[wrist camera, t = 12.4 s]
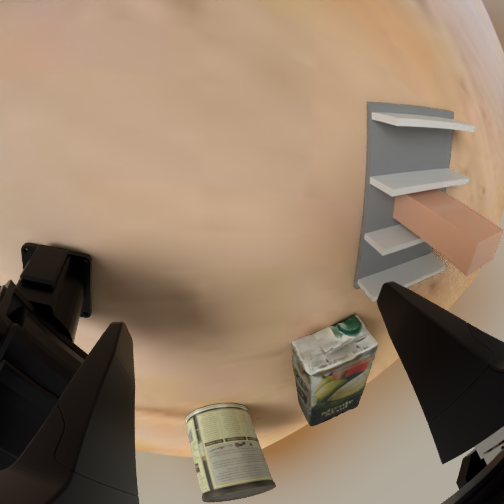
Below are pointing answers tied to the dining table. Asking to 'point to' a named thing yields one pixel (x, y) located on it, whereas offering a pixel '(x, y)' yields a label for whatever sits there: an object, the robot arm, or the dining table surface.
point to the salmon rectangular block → (449, 228)
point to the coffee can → (227, 453)
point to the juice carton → (332, 369)
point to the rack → (402, 190)
